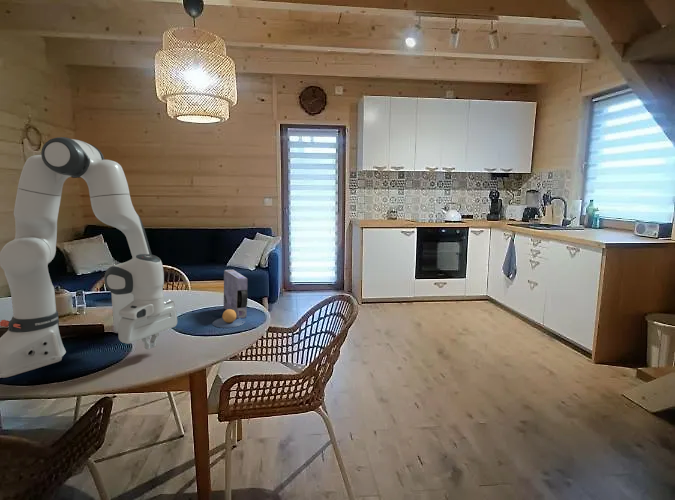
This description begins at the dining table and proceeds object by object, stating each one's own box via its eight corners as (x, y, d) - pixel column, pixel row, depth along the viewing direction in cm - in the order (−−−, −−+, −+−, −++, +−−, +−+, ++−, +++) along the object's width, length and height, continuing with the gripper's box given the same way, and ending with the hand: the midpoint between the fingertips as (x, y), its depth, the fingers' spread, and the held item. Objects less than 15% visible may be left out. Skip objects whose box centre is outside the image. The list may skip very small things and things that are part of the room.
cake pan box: (248, 318, 178) (248, 277, 176) (237, 320, 176) (236, 278, 173) (233, 306, 194) (233, 268, 192) (223, 308, 192) (222, 269, 189)
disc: (232, 329, 164) (232, 329, 164) (205, 325, 169) (205, 324, 169) (251, 320, 176) (251, 319, 176) (225, 316, 181) (225, 315, 181)
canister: (108, 327, 165) (105, 276, 162) (144, 319, 174) (141, 271, 171) (121, 336, 155) (117, 282, 152) (158, 327, 165) (155, 277, 162)
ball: (231, 311, 169) (240, 310, 174) (220, 308, 171) (229, 307, 176) (229, 324, 169) (238, 323, 174) (218, 322, 171) (227, 320, 176)
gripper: (167, 297, 145) (168, 336, 147) (114, 312, 126) (115, 356, 128) (181, 299, 142) (182, 339, 144) (129, 315, 124) (130, 361, 126)
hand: (150, 347), depth 136 cm, fingers closed
